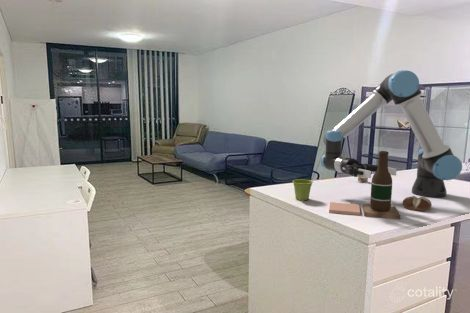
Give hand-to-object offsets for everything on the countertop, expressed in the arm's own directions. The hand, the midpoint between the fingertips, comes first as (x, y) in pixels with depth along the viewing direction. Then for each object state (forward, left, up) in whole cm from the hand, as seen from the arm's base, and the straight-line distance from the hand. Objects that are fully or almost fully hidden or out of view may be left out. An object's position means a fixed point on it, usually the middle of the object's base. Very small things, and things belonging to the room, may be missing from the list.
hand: (383, 173), depth 131 cm
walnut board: (0, -1, -17) cm, 17 cm away
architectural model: (+4, -63, -17) cm, 66 cm away
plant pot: (+33, -13, -17) cm, 39 cm away
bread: (-15, -14, -17) cm, 27 cm away
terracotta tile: (+14, -1, -17) cm, 22 cm away
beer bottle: (0, -1, -15) cm, 15 cm away
